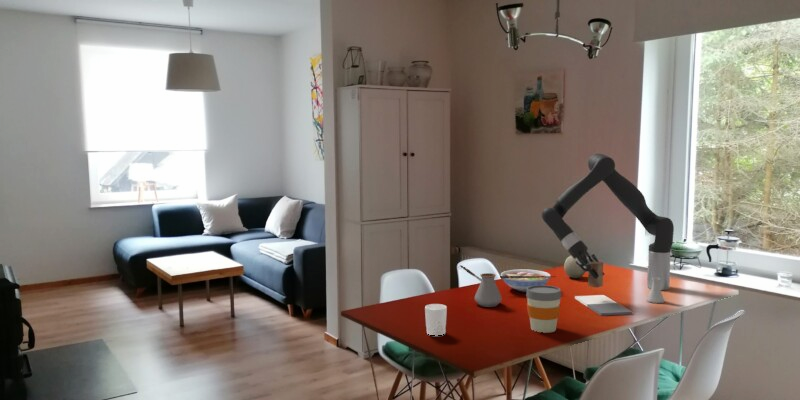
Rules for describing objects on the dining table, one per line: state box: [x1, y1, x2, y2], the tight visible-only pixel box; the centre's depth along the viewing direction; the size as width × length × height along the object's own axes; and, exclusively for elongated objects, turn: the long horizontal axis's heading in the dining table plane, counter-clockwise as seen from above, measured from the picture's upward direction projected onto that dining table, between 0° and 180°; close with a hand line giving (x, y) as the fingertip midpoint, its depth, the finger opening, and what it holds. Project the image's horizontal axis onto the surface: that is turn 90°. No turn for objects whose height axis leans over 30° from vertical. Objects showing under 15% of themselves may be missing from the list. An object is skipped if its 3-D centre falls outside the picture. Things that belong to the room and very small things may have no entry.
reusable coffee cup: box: [525, 284, 562, 334], centre depth 222 cm, size 13×13×15 cm
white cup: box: [424, 303, 448, 337], centre depth 219 cm, size 8×8×10 cm
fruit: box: [563, 246, 586, 279], centre depth 301 cm, size 10×12×15 cm
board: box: [574, 294, 633, 317], centre depth 251 cm, size 26×13×1 cm, turn 6°
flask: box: [646, 278, 665, 304], centre depth 256 cm, size 7×7×10 cm
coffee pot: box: [459, 265, 503, 308], centre depth 259 cm, size 21×12×15 cm, turn 44°
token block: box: [587, 261, 604, 288], centre depth 256 cm, size 4×4×10 cm
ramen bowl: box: [499, 268, 556, 293], centre depth 279 cm, size 25×23×8 cm
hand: (599, 276), depth 255 cm, fingers closed on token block, 4 cm apart
